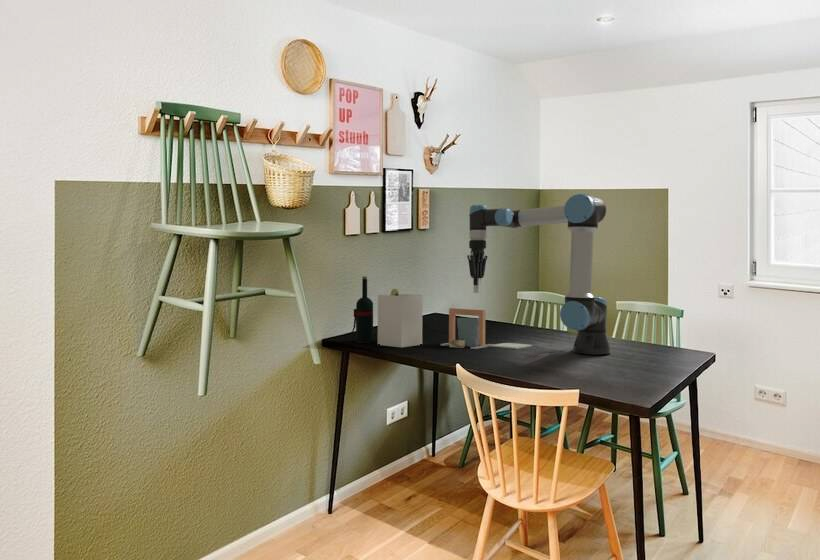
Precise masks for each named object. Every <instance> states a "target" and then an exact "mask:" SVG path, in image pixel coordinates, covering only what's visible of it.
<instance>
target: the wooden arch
mask: <svg viewBox="0 0 820 560" xmlns="http://www.w3.org/2000/svg"><path fill="white" fill-rule="evenodd" d="M456 315H457V316H459V315H460V316H475V317H478V318H479V344H478V346H480V345H482V346H483V345H486V310H485V309H474V308H473V309H471V308H455V307H454V308H453V307H451V308H449V307H448V341H449V340H453V339H454V340H456Z"/></svg>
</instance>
